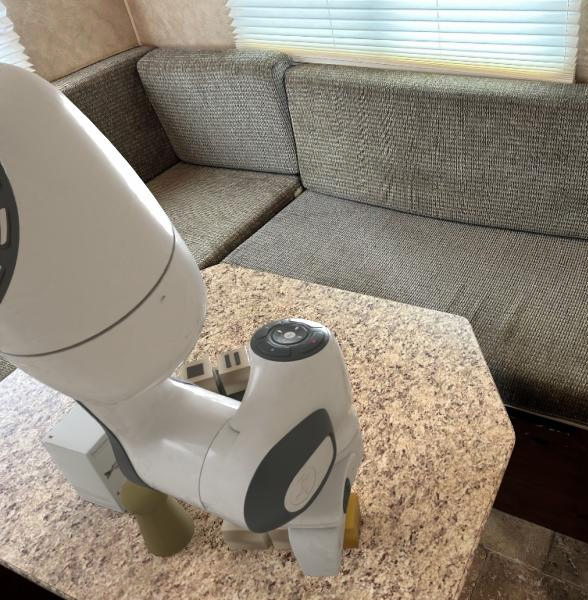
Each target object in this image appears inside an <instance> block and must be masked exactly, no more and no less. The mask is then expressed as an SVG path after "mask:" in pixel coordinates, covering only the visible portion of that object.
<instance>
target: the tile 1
mask: <svg viewBox="0 0 588 600" xmlns="http://www.w3.org/2000/svg"><path fill="white" fill-rule="evenodd" d="M215 370H216V369H215V367H214V365H213V362H212V359H211V357H210V356H205V357H203V358H200V359H196V360H193V361H189V362H186V363H183V364H182V365H181V366H180V367H179V368H178V373H179V378H180V379H183V380H186V381H188V382H191V383H193V384H196V385H198V386H200V387H202V388H204V389H206V390H208V391H211V392H214V393H217V394H220V389H219V384H218V378H217V375H216V372H215Z"/></svg>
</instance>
